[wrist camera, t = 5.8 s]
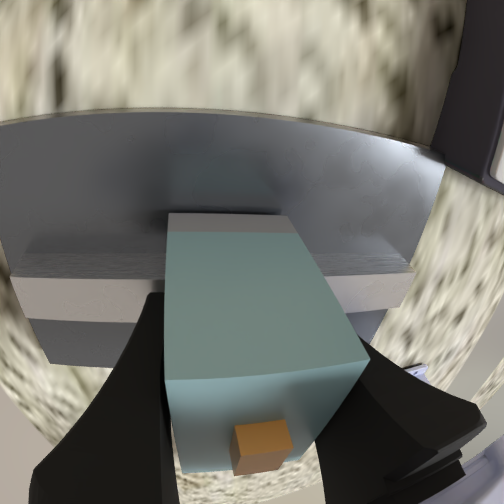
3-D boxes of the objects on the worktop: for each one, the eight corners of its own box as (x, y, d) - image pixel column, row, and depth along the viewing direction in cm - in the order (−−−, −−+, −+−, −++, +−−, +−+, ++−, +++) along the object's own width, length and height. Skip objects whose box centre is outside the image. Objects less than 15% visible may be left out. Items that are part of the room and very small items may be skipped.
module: (287, 215, 11) (387, 389, 5) (261, 334, 14) (304, 478, 8) (168, 213, 10) (166, 420, 4) (172, 337, 13) (184, 494, 7)
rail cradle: (434, 147, 12) (472, 168, 10) (359, 338, 18) (376, 369, 16) (-6, 122, 8) (-43, 142, 6) (53, 349, 14) (44, 386, 12)
